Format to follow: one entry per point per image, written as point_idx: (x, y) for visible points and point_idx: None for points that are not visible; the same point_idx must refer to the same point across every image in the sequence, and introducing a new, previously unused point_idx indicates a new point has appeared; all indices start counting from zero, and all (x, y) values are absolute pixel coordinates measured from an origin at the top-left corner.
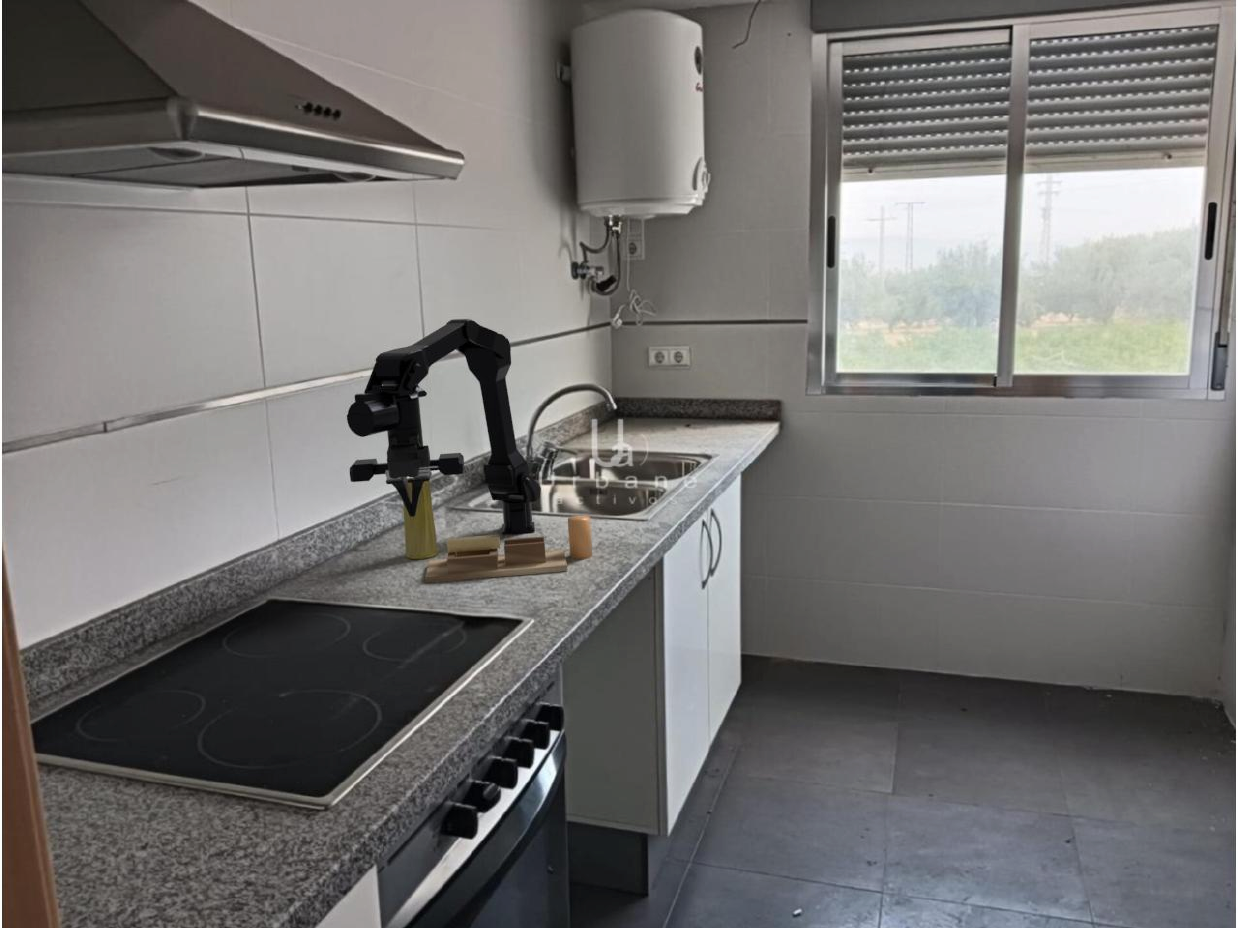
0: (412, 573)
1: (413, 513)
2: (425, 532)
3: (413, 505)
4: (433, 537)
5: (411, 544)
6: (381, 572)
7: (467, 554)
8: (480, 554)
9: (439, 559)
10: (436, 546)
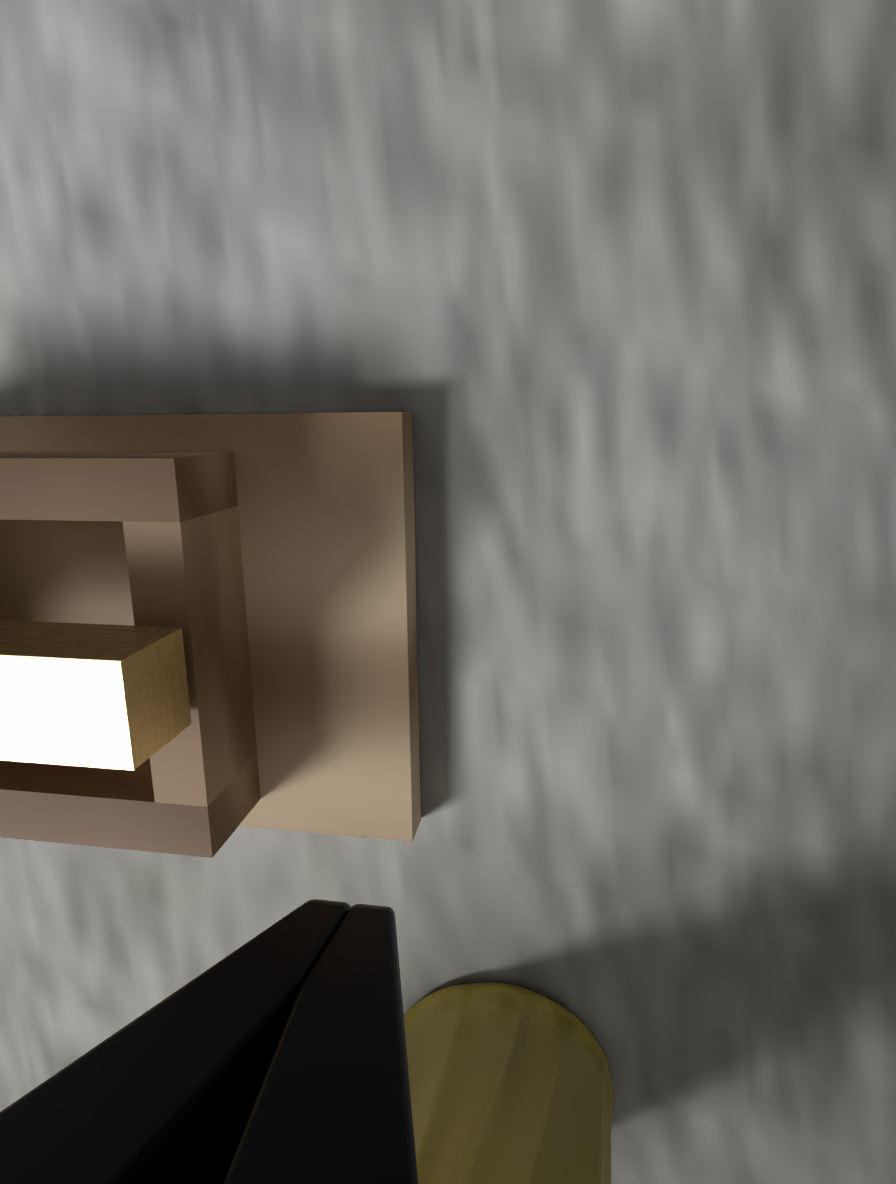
0: (533, 680)
1: (308, 924)
2: None
3: (212, 1032)
4: None
5: (552, 1099)
6: (777, 781)
7: None
8: None
9: (342, 833)
10: None
